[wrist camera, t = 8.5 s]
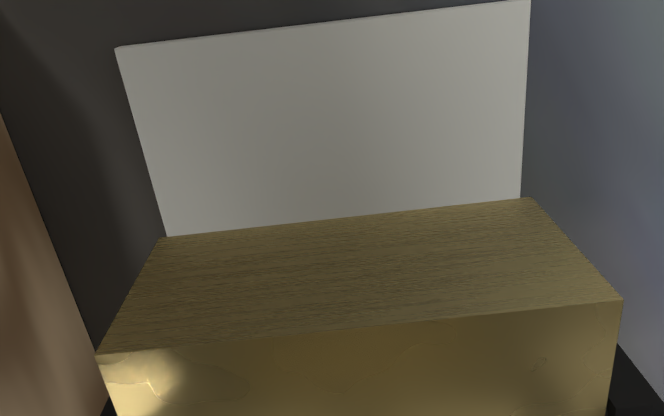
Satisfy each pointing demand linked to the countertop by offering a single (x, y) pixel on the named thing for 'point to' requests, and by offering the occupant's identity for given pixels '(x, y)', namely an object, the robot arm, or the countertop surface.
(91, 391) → the plane body
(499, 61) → the mat
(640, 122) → the countertop surface
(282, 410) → the lever cap
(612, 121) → the countertop surface
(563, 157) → the countertop surface
